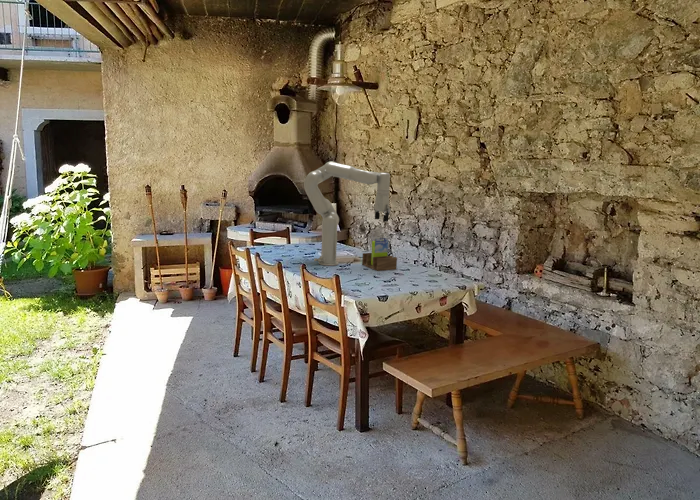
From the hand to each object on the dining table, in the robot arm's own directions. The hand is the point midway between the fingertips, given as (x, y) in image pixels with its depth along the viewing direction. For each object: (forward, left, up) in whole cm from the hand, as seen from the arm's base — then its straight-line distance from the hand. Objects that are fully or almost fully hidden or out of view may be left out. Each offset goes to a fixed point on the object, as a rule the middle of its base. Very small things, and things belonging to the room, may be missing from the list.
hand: (381, 220), depth 347 cm
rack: (0, 0, -30) cm, 30 cm away
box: (0, 0, -29) cm, 29 cm away
